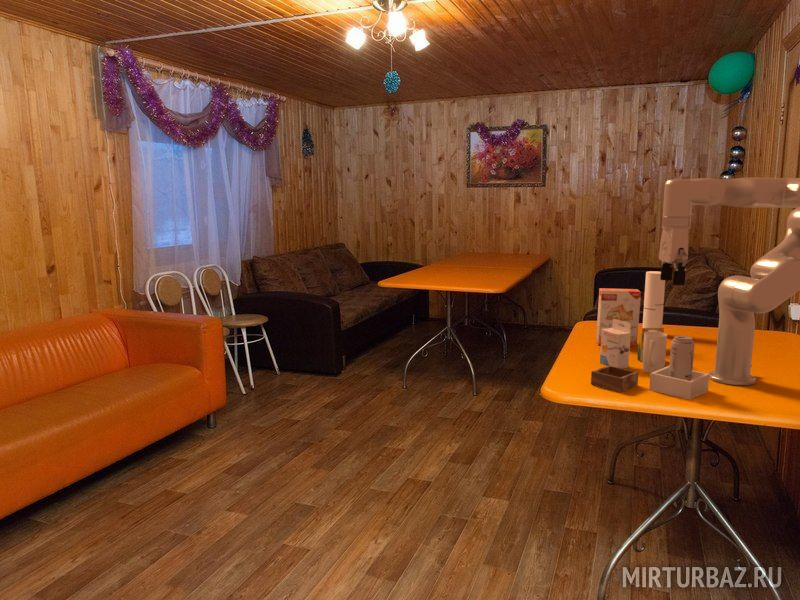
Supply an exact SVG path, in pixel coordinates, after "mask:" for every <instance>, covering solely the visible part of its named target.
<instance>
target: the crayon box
mask: <svg viewBox="0 0 800 600" xmlns="http://www.w3.org/2000/svg"><path fill="white" fill-rule="evenodd" d="M641 329H642V330H641V331H638V341H637V361H638V362H640V363H643V349H644V333H645V332H649V331H648V330H652V329H654V330H658V331H657V332H661V333H664V329H665V327H662V328H641Z"/></svg>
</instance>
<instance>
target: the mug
mask: <svg viewBox="0 0 800 600" xmlns="http://www.w3.org/2000/svg"><path fill="white" fill-rule="evenodd" d="M667 343H668V334H667V333H666V332H665V333H664V332H663V333H661V332H645V333H644V349H643V361H642V370H643V371H644V372H646V373H652V372H655V371H657V370H660V369H662V368H665V364H666V352H667V345H668V344H667Z"/></svg>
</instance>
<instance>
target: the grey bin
mask: <svg viewBox="0 0 800 600" xmlns="http://www.w3.org/2000/svg"><path fill="white" fill-rule="evenodd" d="M709 383H710V378H709V373H706V372H701V371H696V370H693V369H692V380H691V381H687V380H682V379H678V378H673V377H669V365H667V366H664V368H662V369H660V370H657V371H655V372H652V373H650V374H649V387H648V388H649V389H648V390H649V391H651V392H652V391H653V392H656V393H661V394H665V395H669V396H672V397H676V398H679V399H685V400H687V401H691V400H692V399H693V400H694V399H695V398H696V397H698V396H701V395H703V394H704V392H705V393H706V391H707V392H708V391H709ZM702 393H703V394H702ZM700 394H701V395H700Z"/></svg>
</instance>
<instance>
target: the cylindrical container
mask: <svg viewBox="0 0 800 600" xmlns="http://www.w3.org/2000/svg"><path fill="white" fill-rule="evenodd" d="M660 276H661V271H655V270H654V271H652V270H650V271H646V272H645V281H644V282H645V284H644V296H643V297H644V298H643V299H644V300H643V312H642V313H643V314H642V315H643V316H642V328H663V318H664V303H665V291H666V288H665V287H666V280H661V279H660ZM642 328H641V329H642ZM648 331H649V332H657V331H658V330H654V329H652V330H648Z"/></svg>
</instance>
